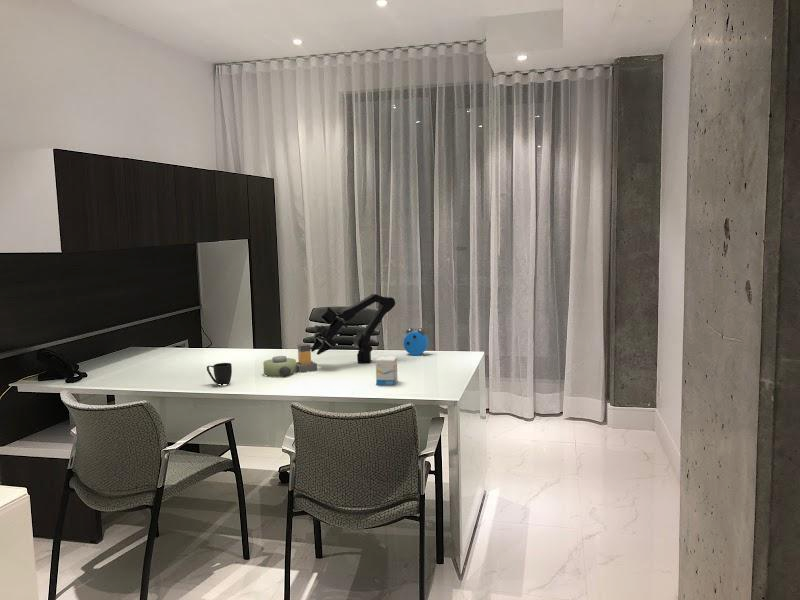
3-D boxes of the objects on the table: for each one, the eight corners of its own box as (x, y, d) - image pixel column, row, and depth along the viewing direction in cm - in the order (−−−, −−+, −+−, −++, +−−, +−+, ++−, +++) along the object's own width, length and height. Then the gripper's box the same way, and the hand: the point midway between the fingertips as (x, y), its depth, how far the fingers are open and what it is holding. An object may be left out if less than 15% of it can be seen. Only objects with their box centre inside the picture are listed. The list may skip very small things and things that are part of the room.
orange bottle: (308, 368, 334) (307, 343, 332) (311, 370, 329) (310, 345, 328) (299, 369, 332) (297, 344, 330) (301, 371, 327) (300, 346, 326)
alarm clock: (429, 353, 362) (428, 327, 360) (426, 356, 356) (425, 329, 354) (406, 353, 366) (405, 327, 364) (403, 355, 360) (402, 328, 358)
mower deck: (308, 365, 342) (307, 350, 341) (320, 372, 324) (319, 356, 323) (259, 371, 330) (258, 355, 330) (269, 379, 313) (268, 362, 312)
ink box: (394, 385, 293) (393, 360, 291) (376, 385, 294) (375, 359, 293) (398, 381, 301) (397, 356, 300) (380, 380, 303) (379, 356, 302)
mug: (213, 381, 311) (211, 362, 310) (235, 382, 308) (234, 362, 307) (203, 386, 303) (202, 366, 302) (227, 386, 300) (225, 366, 299)
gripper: (316, 317, 341) (297, 340, 337) (328, 321, 324) (308, 345, 321) (331, 330, 345) (312, 353, 342) (344, 335, 328) (324, 359, 325)
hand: (314, 352), depth 332 cm, fingers open, 9 cm apart
